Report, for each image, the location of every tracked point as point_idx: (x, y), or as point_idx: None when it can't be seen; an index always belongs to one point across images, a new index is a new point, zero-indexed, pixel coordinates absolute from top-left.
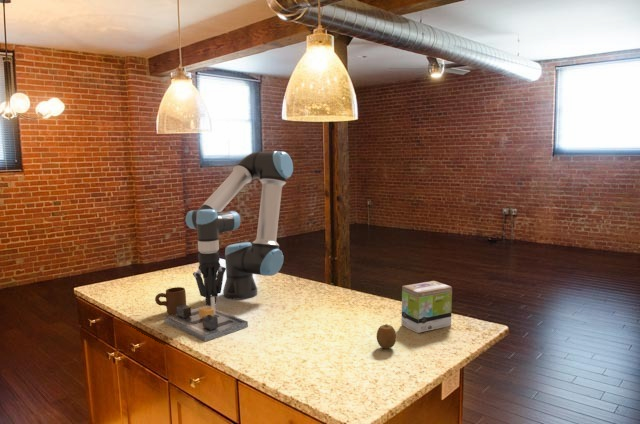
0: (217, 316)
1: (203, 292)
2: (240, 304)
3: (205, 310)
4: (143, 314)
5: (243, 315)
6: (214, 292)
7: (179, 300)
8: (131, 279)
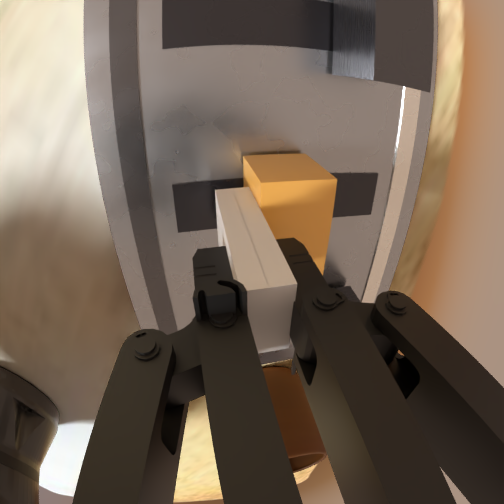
0: (190, 187)
1: (441, 334)
2: (3, 328)
3: (323, 208)
4: None
5: (12, 177)
6: (249, 343)
7: (288, 417)
8: (218, 496)
